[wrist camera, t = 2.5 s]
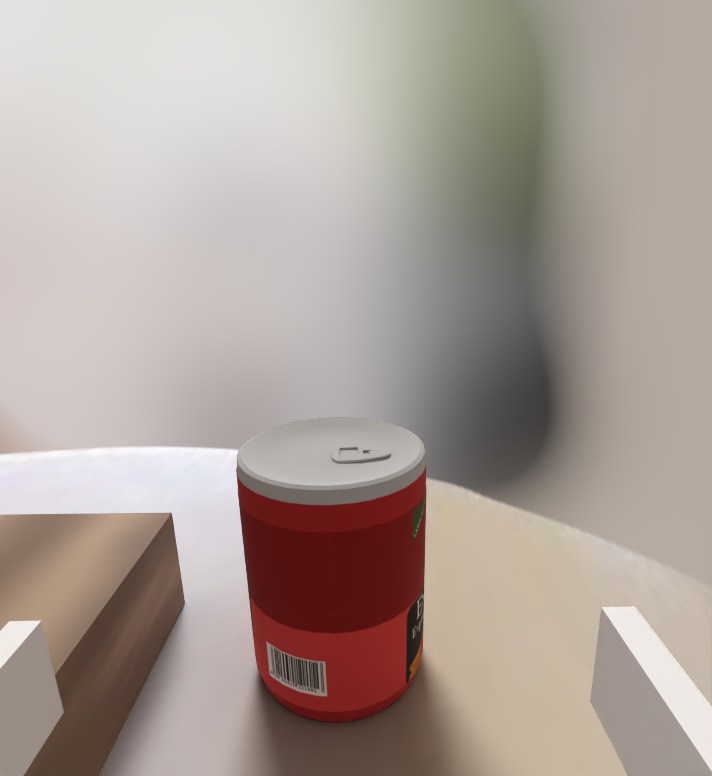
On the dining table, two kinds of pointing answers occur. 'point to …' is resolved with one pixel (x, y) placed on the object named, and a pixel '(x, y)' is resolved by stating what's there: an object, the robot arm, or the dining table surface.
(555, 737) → the dining table surface
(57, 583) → the walnut box
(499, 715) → the dining table surface
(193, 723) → the dining table surface
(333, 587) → the canned food
